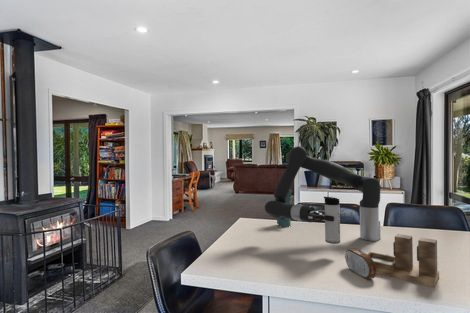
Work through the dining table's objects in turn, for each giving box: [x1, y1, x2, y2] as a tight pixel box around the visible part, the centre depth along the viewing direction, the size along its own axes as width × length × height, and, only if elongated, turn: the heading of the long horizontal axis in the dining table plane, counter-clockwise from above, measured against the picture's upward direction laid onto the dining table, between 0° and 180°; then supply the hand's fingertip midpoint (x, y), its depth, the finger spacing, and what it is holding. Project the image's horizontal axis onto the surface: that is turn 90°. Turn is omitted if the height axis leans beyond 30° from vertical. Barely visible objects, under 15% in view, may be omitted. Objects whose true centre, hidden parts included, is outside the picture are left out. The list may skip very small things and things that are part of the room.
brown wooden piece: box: [366, 233, 440, 288], centre depth 106 cm, size 24×11×14 cm, turn 47°
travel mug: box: [323, 196, 341, 245], centre depth 123 cm, size 6×7×20 cm
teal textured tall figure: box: [276, 189, 293, 228], centre depth 181 cm, size 14×10×25 cm
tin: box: [344, 247, 377, 280], centre depth 105 cm, size 15×3×8 cm, turn 12°
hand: (337, 217), depth 122 cm, fingers closed on travel mug, 6 cm apart
